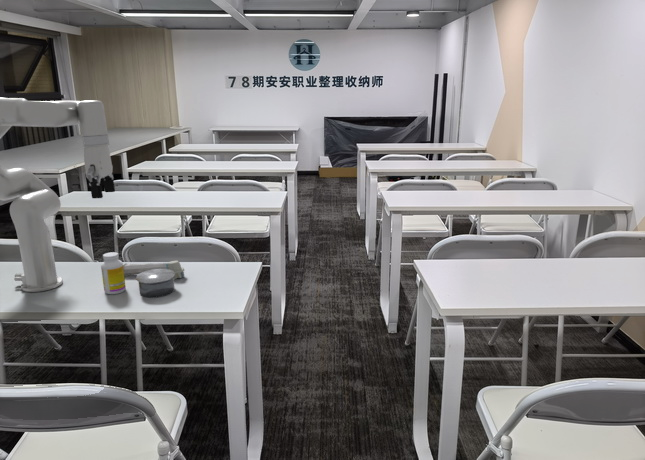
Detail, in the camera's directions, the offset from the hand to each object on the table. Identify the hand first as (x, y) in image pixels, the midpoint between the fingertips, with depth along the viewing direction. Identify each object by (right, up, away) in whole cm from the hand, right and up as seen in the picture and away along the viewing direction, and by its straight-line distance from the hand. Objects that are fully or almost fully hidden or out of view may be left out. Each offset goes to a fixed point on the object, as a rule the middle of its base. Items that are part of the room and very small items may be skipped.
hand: (103, 194), depth 164 cm
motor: (+16, -31, +5) cm, 35 cm away
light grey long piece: (+9, -28, +19) cm, 35 cm away
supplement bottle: (+2, -32, +5) cm, 32 cm away
